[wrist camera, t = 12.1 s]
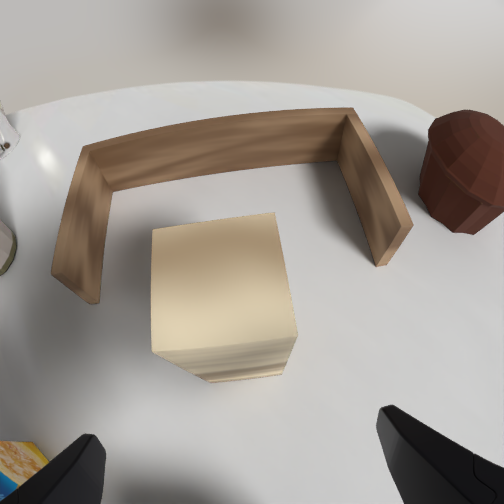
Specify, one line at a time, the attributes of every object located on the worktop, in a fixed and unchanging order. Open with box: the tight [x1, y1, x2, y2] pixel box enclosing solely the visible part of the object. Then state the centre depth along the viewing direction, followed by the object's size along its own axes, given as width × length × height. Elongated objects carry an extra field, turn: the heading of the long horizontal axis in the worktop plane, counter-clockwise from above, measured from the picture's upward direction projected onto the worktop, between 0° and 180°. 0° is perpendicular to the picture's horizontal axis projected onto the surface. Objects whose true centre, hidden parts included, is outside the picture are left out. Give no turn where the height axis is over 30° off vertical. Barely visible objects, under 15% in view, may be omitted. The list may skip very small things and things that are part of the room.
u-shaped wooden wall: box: [51, 108, 413, 304], centre depth 24 cm, size 13×25×6 cm, turn 97°
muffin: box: [418, 110, 504, 235], centre depth 23 cm, size 12×11×10 cm
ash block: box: [151, 212, 298, 383], centre depth 16 cm, size 5×5×12 cm
